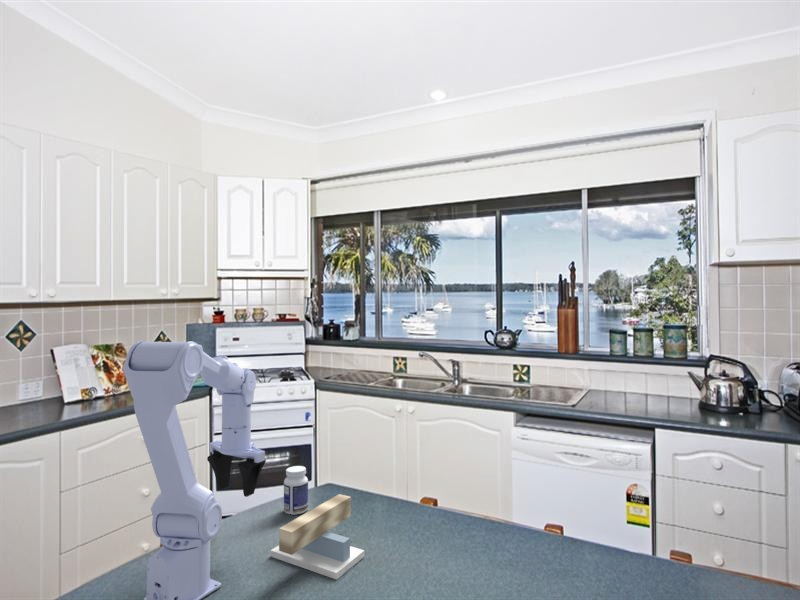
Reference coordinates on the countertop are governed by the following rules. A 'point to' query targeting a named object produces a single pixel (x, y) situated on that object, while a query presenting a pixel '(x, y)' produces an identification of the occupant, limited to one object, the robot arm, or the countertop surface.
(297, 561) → the ridge stand
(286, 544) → the beam
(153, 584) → the robot arm
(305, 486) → the pill bottle
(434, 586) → the countertop surface
